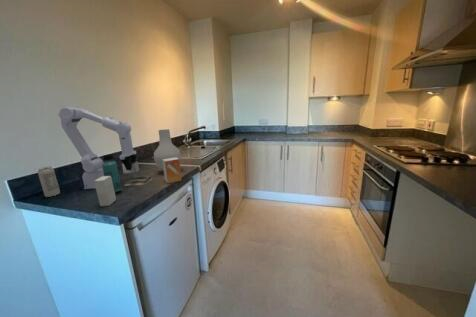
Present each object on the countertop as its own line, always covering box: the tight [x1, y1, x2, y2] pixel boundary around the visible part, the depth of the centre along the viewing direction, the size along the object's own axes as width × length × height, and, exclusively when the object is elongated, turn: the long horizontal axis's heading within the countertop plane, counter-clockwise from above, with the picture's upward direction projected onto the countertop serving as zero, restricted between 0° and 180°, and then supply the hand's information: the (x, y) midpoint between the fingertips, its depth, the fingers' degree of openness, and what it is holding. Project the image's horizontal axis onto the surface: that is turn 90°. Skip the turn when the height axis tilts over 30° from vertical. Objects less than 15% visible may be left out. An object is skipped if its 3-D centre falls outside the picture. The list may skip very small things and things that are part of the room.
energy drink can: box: [37, 165, 61, 198], centre depth 101 cm, size 6×6×15 cm
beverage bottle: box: [102, 153, 122, 193], centre depth 100 cm, size 6×7×20 cm
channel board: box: [123, 175, 153, 187], centre depth 116 cm, size 12×9×2 cm
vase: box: [153, 129, 181, 171], centre depth 131 cm, size 17×16×28 cm
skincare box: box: [94, 176, 117, 207], centre depth 89 cm, size 6×4×12 cm
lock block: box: [121, 161, 140, 174], centre depth 114 cm, size 7×4×6 cm, turn 90°
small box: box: [162, 157, 183, 184], centre depth 115 cm, size 8×6×13 cm
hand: (131, 168), depth 114 cm, fingers closed on lock block, 4 cm apart
